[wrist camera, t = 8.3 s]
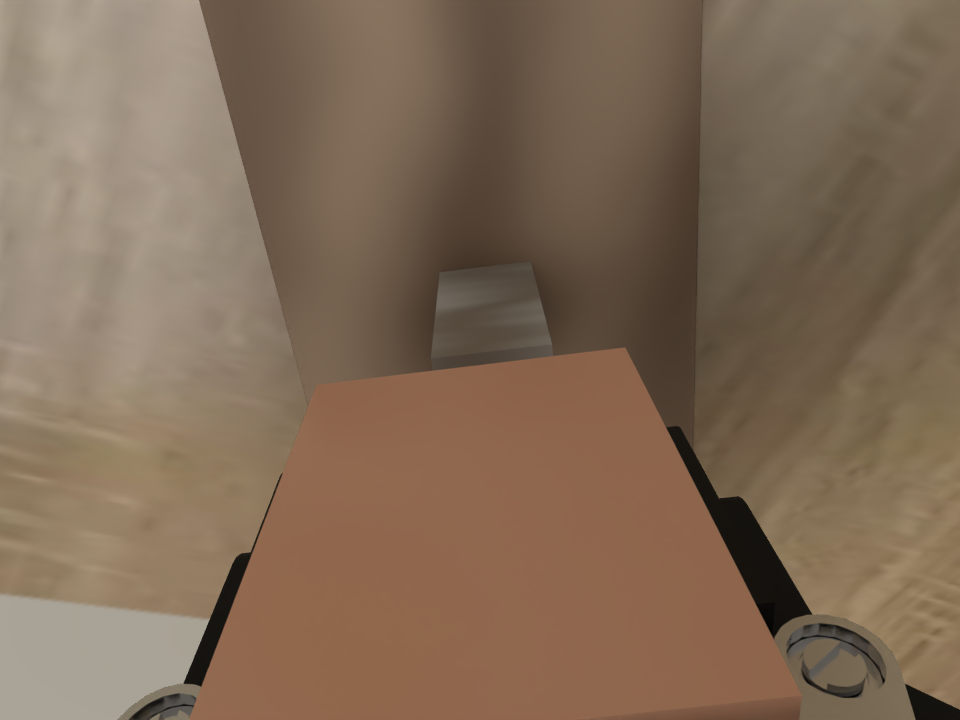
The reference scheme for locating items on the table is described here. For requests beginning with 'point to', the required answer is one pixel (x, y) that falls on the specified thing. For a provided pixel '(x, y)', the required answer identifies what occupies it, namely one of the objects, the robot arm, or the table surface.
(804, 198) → the table surface
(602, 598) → the salmon orange block
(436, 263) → the flat brown rectangular board
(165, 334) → the table surface
